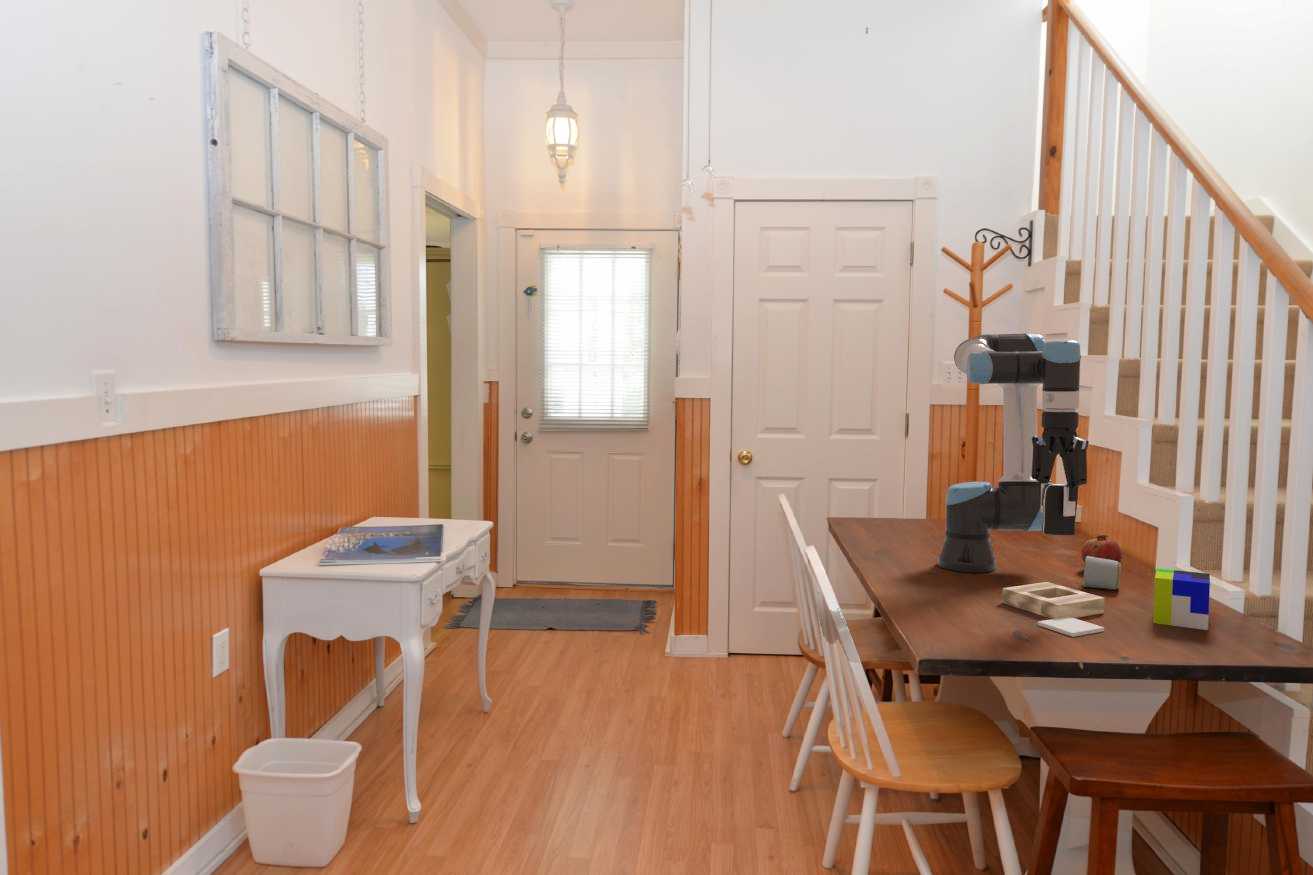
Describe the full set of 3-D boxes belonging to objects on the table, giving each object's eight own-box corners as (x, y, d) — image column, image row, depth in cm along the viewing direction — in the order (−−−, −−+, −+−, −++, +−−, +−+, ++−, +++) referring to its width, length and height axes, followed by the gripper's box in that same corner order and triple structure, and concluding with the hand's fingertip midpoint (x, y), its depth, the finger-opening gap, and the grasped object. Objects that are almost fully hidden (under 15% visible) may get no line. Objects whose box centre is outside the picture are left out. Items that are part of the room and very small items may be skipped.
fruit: (1112, 578, 228) (1114, 540, 227) (1073, 571, 235) (1075, 535, 234) (1129, 571, 235) (1130, 535, 234) (1090, 565, 242) (1091, 529, 241)
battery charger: (1069, 532, 199) (1072, 483, 198) (1076, 536, 195) (1079, 485, 194) (1037, 531, 199) (1040, 482, 198) (1043, 535, 196) (1046, 484, 194)
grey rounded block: (1120, 593, 213) (1121, 562, 212) (1082, 589, 217) (1083, 558, 216) (1120, 584, 222) (1121, 554, 222) (1084, 580, 226) (1085, 551, 226)
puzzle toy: (1207, 630, 183) (1209, 583, 182) (1153, 623, 188) (1154, 577, 188) (1207, 618, 192) (1209, 573, 191) (1155, 612, 197) (1156, 568, 196)
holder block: (1002, 602, 205) (1002, 588, 205) (1046, 596, 211) (1046, 581, 210) (1058, 620, 191) (1058, 604, 190) (1104, 612, 196) (1104, 597, 196)
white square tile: (1037, 625, 188) (1037, 621, 187) (1068, 619, 191) (1068, 616, 191) (1072, 636, 179) (1072, 632, 179) (1104, 631, 183) (1104, 627, 183)
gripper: (1015, 409, 202) (1012, 509, 204) (1083, 412, 185) (1080, 521, 186) (1039, 408, 205) (1036, 507, 206) (1108, 411, 188) (1105, 518, 189)
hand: (1057, 513), depth 196 cm, fingers closed on battery charger, 6 cm apart
